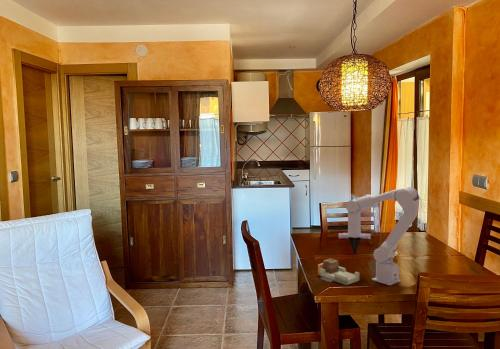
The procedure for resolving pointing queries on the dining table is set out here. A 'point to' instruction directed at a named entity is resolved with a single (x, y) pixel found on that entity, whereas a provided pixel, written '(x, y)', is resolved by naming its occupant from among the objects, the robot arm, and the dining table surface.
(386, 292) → the dining table surface
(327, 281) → the mats
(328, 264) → the walnut block
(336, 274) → the trap lane
